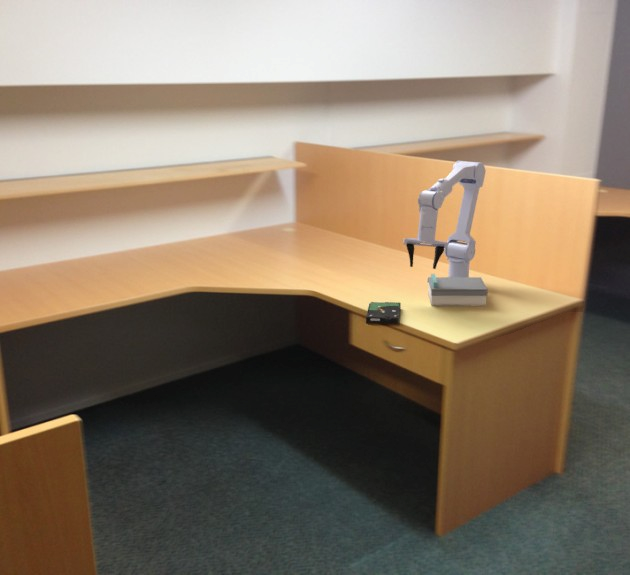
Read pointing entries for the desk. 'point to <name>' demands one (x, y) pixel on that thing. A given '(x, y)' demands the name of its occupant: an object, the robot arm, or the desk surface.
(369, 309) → the disk drive
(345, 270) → the desk surface
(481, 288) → the lid
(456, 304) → the box
